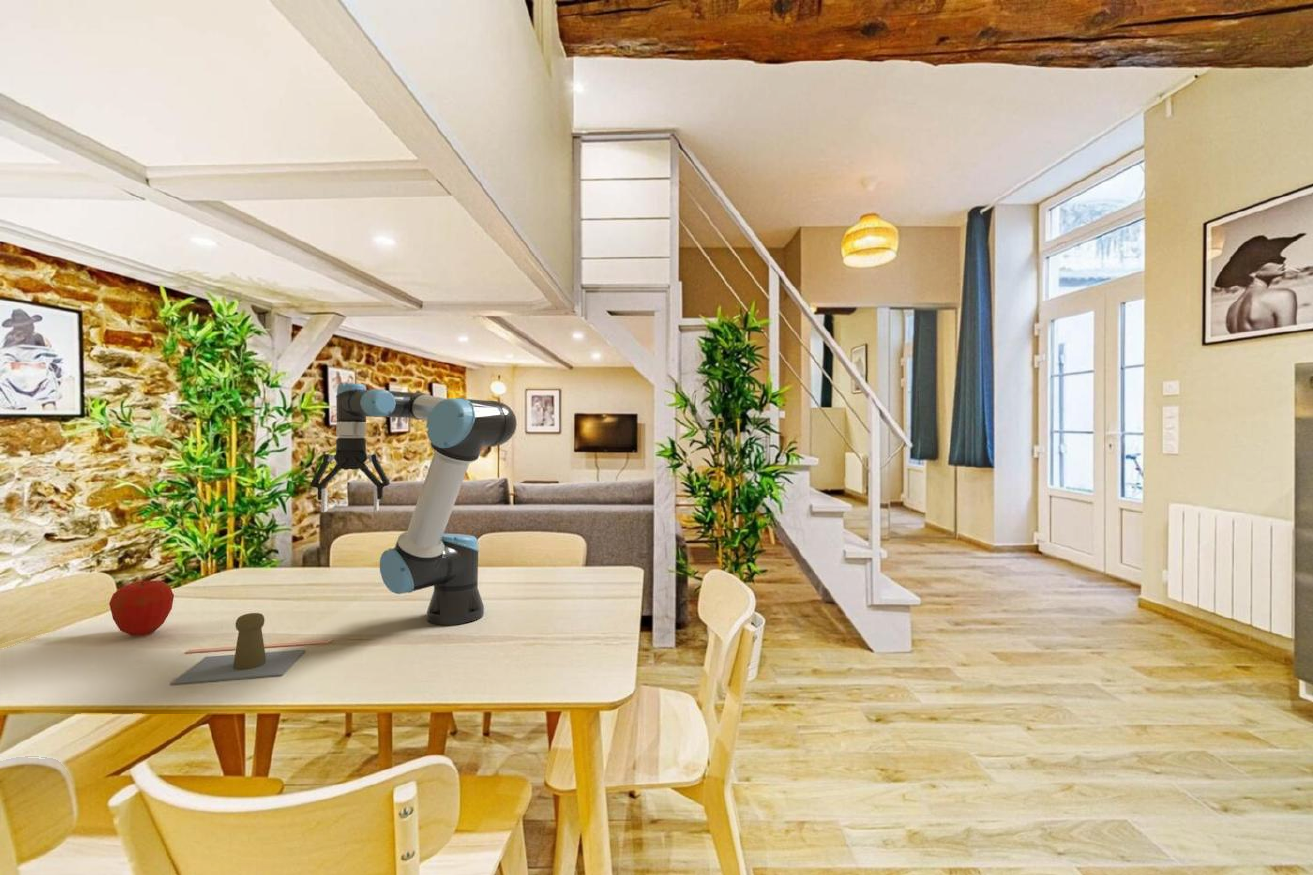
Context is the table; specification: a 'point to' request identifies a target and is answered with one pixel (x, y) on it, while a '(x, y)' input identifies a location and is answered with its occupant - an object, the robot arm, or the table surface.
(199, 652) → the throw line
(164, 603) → the apple
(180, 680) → the mat
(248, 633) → the cork
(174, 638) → the table surface
